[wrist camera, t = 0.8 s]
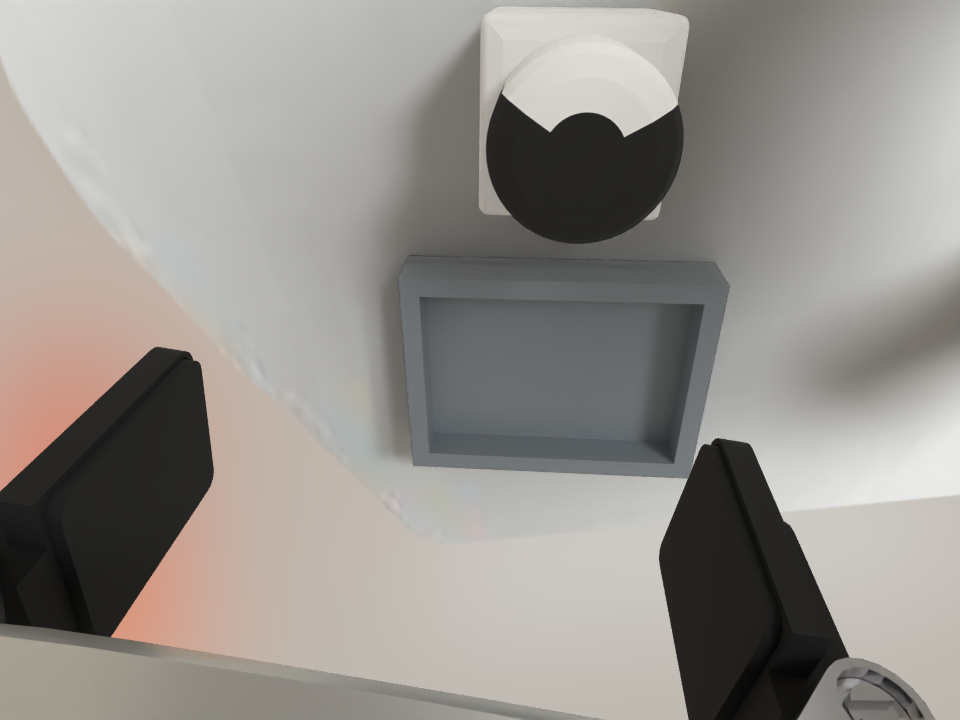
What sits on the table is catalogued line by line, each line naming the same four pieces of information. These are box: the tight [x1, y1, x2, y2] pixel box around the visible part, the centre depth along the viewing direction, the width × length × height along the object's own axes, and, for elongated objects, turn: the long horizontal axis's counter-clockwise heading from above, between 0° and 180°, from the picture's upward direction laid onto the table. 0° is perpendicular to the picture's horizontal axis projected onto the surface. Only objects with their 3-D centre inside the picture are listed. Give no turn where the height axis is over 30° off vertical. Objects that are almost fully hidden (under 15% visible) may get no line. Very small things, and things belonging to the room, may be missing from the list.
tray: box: [398, 256, 730, 479], centre depth 35 cm, size 16×12×3 cm
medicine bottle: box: [479, 6, 689, 244], centre depth 24 cm, size 7×7×12 cm
